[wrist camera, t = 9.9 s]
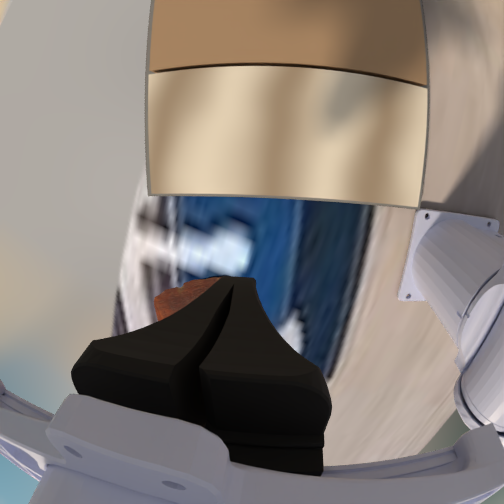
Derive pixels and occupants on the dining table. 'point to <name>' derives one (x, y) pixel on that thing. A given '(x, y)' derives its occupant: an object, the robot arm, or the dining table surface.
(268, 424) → the robot arm
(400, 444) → the dining table surface
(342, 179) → the ash plank
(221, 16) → the floor base
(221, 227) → the dining table surface
